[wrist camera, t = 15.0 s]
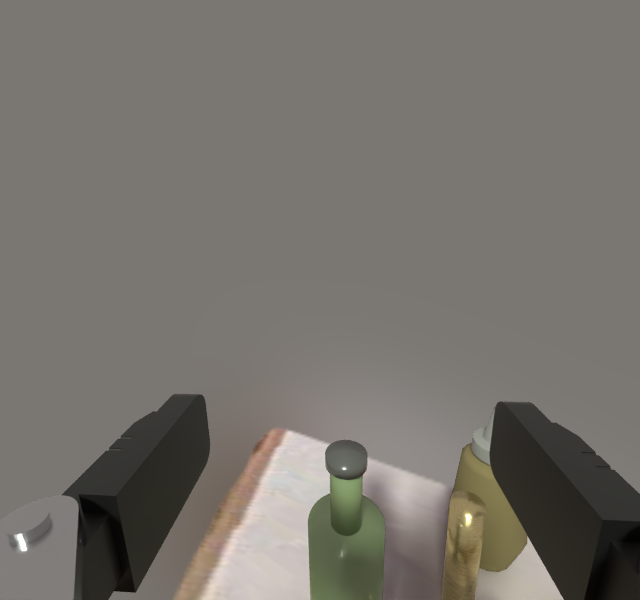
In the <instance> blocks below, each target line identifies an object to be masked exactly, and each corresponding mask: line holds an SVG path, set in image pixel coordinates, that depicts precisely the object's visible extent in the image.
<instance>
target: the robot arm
mask: <svg viewBox="0 0 640 600" xmlns="http://www.w3.org/2000/svg"><path fill="white" fill-rule="evenodd" d="M209 451H210V438H209V429H208V421H207V413H206V403H205V399H204V397H203V396H202V395H199V394H174V395H172V396H171V397H170V398H169V399H168V401H166V402H165V404H164V405H163V406H162V407H161V408H160V409H159V410H158V411H157V412H152V413H150V414H148V415H147V416H145V417H143V418H142V419H140V420H139V421H137V422H135V423H134V424H133V425H132V426H131V427H130V428H129V429H128V430H127V431H126V432H125V433H124V434H123V435H122V436H121V438H120V439H118V440H117V441H116V442H115V443H114V444H113V445H112V446H111V447H110V448H109V451H105V453H104V454H103V455H101V456H100V457H99V458H98V460H96V462H94V463H93V464H92V465H91V466H90V468H88V469H87V470H86V471H85V473H83V474H82V475H81V476H80V477H79V478H78V479H77V480H76V481H75V482H74V483H73V484H72V485H71V486H70V487H69V488H68V489H67V490H66V491H65V492H64V493H63V494H62V495H61V496H60V495H58V496H50V497H46V498H42V499H39V500H36V501H33V502H31V503H29V504H26V505H24V506H22V507H20V508H18V509H17V510H15V511H13V512H12V513H10V514H8V515H7V516H5V517H4V518H3V519H1V520H0V600H108V599H109V598H110V596H111V594H112V593H113V591H120V592H136V591H137V589H138V587H139V586H140V584H141V582H142V580H143V578H144V577H145V575H146V573H147V571H148V569H149V567H150V566H151V564H152V562H153V560H154V558H155V557H156V555H157V553H158V551H159V549H160V548H161V546H162V544H163V542H164V540H165V539H166V537H167V535H168V533H169V531H170V529H171V528H172V526H173V524H174V522H175V520H176V519H177V517H178V515H179V513H180V511H181V510H182V508H183V506H184V504H185V502H186V500H187V499H188V497H189V495H190V493H191V491H192V489H193V488H194V486H195V484H196V482H197V481H198V479H199V477H200V475H201V473H202V471H203V469H204V468H205V466H206V463H207V460H208V457H209ZM489 457H490V465H491V469H492V472H493V475H494V477H495V479H496V481H497V483H498V485H499V486H500V488H501V490H502V492H503V493H504V495H505V497H506V499H507V501H508V502H509V504H510V506H511V508H512V509H513V511H514V513H515V515H516V516H517V518H518V520H519V522H520V523H521V525H522V527H523V529H524V530H525V532H526V534H527V536H528V537H529V539H530V541H531V543H532V544H533V546H534V548H535V550H536V551H537V553H538V555H539V557H540V558H541V560H542V562H543V564H544V565H545V567H546V569H547V571H548V572H549V574H550V576H551V578H552V580H553V581H554V583H555V585H556V587H557V588H558V590H559V592H560V594H561V595H562V597H563V599H564V600H640V494H639V493H638V492H637V491H636V490H635V489H634V488H633V487H632V486H631V485H629V484H628V483H627V482H626V481H625V480H624V479H623V478H622V477H621V476H620V475H619V474H618V473H617V472H616V471H615V470H611V468H610V466H609V465H608V464H607V463H606V462H605V461H604V460H603V459H602V458H601V457H600V456H598V455H596V453H595V451H594V450H593V449H592V448H590V447H589V446H588V445H587V444H586V443H585V442H584V441H583V440H582V439H581V438H580V437H579V436H577V435H576V434H574V433H572V432H571V431H569V430H567V429H565V428H564V427H562V426H561V425H559V424H557V423H552V422H551V421H550V420H549V419H547V417H546V416H545V415H544V414H543V413H542V412H541V411H540V410H539V409H538V408H537V407H536V406H535V405H534V404H532V403H530V402H498V403H497V405H496V407H495V412H494V420H493V428H492V436H491V444H490V452H489Z"/></svg>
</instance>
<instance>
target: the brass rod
mask: <svg viewBox="0 0 640 600" xmlns="http://www.w3.org/2000/svg"><path fill="white" fill-rule="evenodd" d="M485 517H486V505H485V503H484V502H483V501H482V499H480V498H479V497H478V496H477V495H475V494H473V493H471V492H468V491H456V492H454V493H453V494H452V495H451V498H450V509H449V519H448V529H447V540H446V550H445V561H444V571H443V582H442V592H441V600H475V595H476V587H477V579H478V571H479V564H480V556H481V548H482V541H483V533H484V525H485Z"/></svg>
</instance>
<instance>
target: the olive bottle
mask: <svg viewBox="0 0 640 600" xmlns="http://www.w3.org/2000/svg"><path fill="white" fill-rule="evenodd" d="M325 462H326V469H327V470H328V472H329V473H330V494H328V495H326V496H324V497H322V498H321V499H320V500H318V501H317V502H316V503H315V505H314V506H313V507H312V509H311V511H310V514H309V518H308V538H309V568H310V599H311V600H382V594H383V567H384V540H385V522H384V518H383V515H382V513H381V511H380V510H379V508H378V507H377V506H376V504H375V503H374V502H372V501H371V500H370V499H369V498H367V497H365V496H363V495H362V478H363V474H364V473H365V472H366V470H367V451H366V449H365V448H364V447H363V446H362V445H361V444H359V443H357V442H354V441H350V440H340V441H336V442H334V443H332V444H330V445H329V446H328V447H327V449H326V452H325Z"/></svg>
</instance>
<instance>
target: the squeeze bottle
mask: <svg viewBox="0 0 640 600" xmlns="http://www.w3.org/2000/svg"><path fill="white" fill-rule="evenodd" d="M494 412H495V408H494V410H493V412H492V414H491V417H490V419H489V422H488V424H487V426H486V427H484V428H479V429H477V430H476V431H474V432H473V437H472V443H470V444H468V445H467V446H465V447H464V448H463V450H462V454H461V458H460V463H459V467H458V471H457V476H456V480H455V484H454V488H453V493H454V492H456V491H468V492H471V493H473V494H475V495H477V496H478V497H479V498H480V499H482V501H483V502H484V503H485V505H486V517H485V525H484V533H483V541H482V548H481V556H480V564H479V567H480V568H482V569H484V570H486V571H495V572H499V571H502V570H505V569H507V568H508V567H509V566H510V564H511V563H512V562H513V561H514V560H515V559H516V558H517V556H518V555H519V554H520V553H521V552H522V550H523V549H524V547H525V546H526V544H527V534H526V532H525V530H524V529H523V527H522V525H521V523H520V522H519V520H518V518H517V516H516V515H515V513H514V511H513V509H512V508H511V506H510V504H509V502H508V501H507V499H506V497H505V495H504V493H503V492H502V490H501V488H500V486H499V485H498V483H497V481H496V479H495V477H494V475H493V472H492V469H491V465H490V457H489V452H490V444H491V436H492V428H493V420H494ZM453 493H452V494H453ZM449 509H450V506H449ZM448 515H449V510H448Z"/></svg>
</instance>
